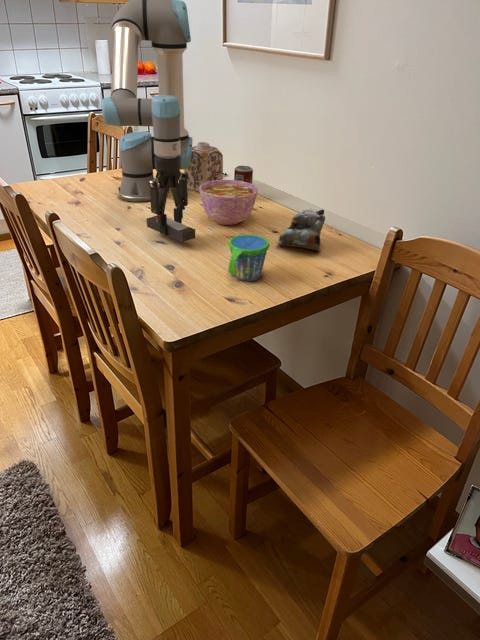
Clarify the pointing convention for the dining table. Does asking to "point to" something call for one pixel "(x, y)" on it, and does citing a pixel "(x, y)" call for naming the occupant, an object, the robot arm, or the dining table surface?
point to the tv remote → (173, 229)
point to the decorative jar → (204, 166)
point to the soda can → (243, 174)
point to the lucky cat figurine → (304, 230)
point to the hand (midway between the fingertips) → (170, 231)
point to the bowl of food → (228, 200)
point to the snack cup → (247, 256)
